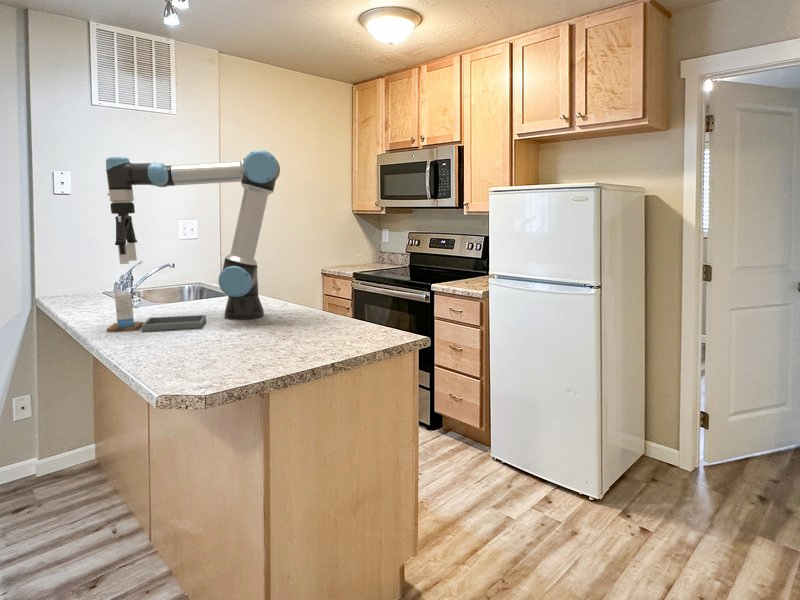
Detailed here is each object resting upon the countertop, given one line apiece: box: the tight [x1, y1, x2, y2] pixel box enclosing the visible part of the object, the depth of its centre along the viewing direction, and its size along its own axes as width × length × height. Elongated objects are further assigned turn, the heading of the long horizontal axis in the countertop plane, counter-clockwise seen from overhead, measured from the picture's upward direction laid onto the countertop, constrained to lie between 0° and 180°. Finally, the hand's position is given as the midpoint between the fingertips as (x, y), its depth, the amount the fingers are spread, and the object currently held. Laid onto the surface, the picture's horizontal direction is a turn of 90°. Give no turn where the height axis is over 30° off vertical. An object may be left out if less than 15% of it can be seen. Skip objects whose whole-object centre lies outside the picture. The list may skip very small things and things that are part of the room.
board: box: [106, 321, 145, 333], centre depth 192 cm, size 10×10×1 cm
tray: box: [140, 314, 207, 333], centre depth 194 cm, size 20×14×2 cm
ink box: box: [113, 284, 135, 328], centre depth 191 cm, size 8×5×15 cm, turn 33°
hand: (128, 262), depth 191 cm, fingers open, 13 cm apart
